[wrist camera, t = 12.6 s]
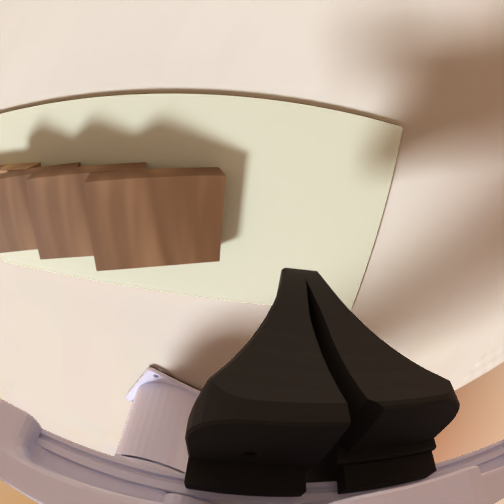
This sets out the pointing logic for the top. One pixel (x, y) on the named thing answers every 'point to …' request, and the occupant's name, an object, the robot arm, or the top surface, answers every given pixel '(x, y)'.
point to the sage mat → (229, 183)
